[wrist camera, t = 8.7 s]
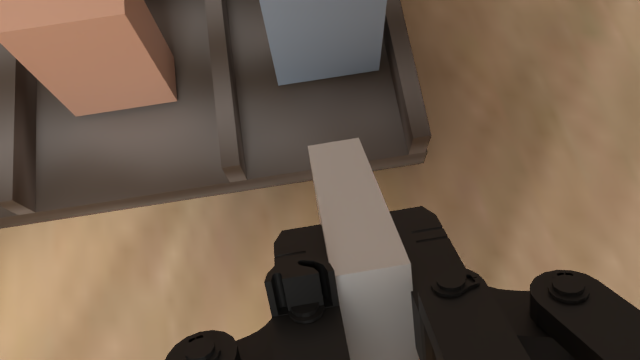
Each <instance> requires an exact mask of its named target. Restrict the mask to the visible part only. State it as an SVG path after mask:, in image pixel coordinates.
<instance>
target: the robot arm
mask: <svg viewBox="0 0 640 360" xmlns="http://www.w3.org/2000/svg"><path fill="white" fill-rule="evenodd" d="M308 151H309V157H310V164H311V170H312V176H313V183H314V189H315V195H316V201H317V208H318V214H319V220H320V225H314V226H308V227H302V228H296V229H290V230H284V231H281V233H280V235H279V236H278V238H277V239H276V241H275V242H274V256H275V258H274V259H275V266H274V267H273V268H272V269H271V270H270V271H269V272H268V274H267V276H266V279H265V287H266V291H267V296H268V301H269V305H270V310H271V314H272V319H271V320H270V321H269V322H268V323H267V324H266V325H265V326H264V327H263V328H261V329H260V330H259V331H257V332H255V333H253V334H251V335H249V336H247V337H245V338H242V339H240V340H237V341H235V340H234V338H233V337H232V336H230V335H229V334H227V333H225V332H222V331H215V330H210V331H203V332H198V333H196V334H193V335H191V336H188V337H186V338H185V339H183V340H182V341H180V342H179V343H178V344H176V345H175V346H174V347H173V349H172V350H171V351H170V352H169V354H168V355H167V357H166V359H165V360H419V359H420V360H640V310H639V309H637V308H636V307H634V306H633V305H632V304H630V303H629V302H627V301H626V300H625V299H623V298H622V297H620V296H619V295H618V294H616V293H615V292H613V291H612V290H611V289H609V288H608V287H606V286H605V285H604V284H602V283H601V282H599V281H598V280H596V279H594V278H592V277H590V276H589V275H587V274H583V273H580V272H576V271H571V270H554V271H549V272H544V273H543V274H541V275H539V276H537V277H535V278H534V280H533V281H532V283H531V284H530V291H513V290H502V289H496V288H492V287H488V286H487V284H486V282H485V281H484V280H483V279H482V278H481V277H480V276H479V275H478V274H477V273H475V272H473V271H471V270H469V269H466V268H465V266H464V264H463V263H462V261H461V259H460V257H459V256H458V254H457V252H456V250H455V248H454V247H453V245H452V243H451V241H450V239H449V238H448V237H447V234H446V232H445V231H444V229H443V228H442V225H441V223H440V222H439V220H438V218H437V216H436V215H435V214H434V213H432V212H430V211H429V210H427V209H426V208H424V207H422V206H420V207H414V208H408V209H402V210H396V211H390V212H389V210H388V207H387V205H386V202H385V200H384V198H383V195H382V193H381V190H380V188H379V186H378V183H377V181H376V178H375V176H374V173H373V171H372V169H371V166H370V164H369V161H368V159H367V156H366V154H365V152H364V149H363V147H362V144H361V142H360V140H359V138H353V139H347V140H341V141H335V142H329V143H323V144H316V145H310V146H308ZM418 356H419V357H418Z"/></svg>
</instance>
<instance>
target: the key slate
mask: <svg viewBox="0 0 640 360" xmlns="http://www.w3.org/2000/svg"><path fill="white" fill-rule="evenodd" d="M259 2H260V6H261V11H262V15H263V19H264V24H265V28H266V33H267V37H268V42H269V46H270V51H271V55H272V60H273V64H274V68H275V73H276V77H277V82H278V86H280V85H286V84H293V83H299V82H306V81H312V80H319V79H326V78H332V77H339V76H345V75H352V74H358V73H365V72H371V71H378V70H379V66H380V57H381V48H382V40H383V31H384V22H385V14H386V5H387V0H259Z"/></svg>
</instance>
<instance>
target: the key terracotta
mask: <svg viewBox="0 0 640 360" xmlns="http://www.w3.org/2000/svg"><path fill="white" fill-rule="evenodd" d="M0 43H1V44H2V45H3V46H4V47H5V48H6V49H7V50H8V51H9V52H10V53H11V54H12V55H13V56H14V57H15V58H16V59H17V60H18V61H19V62H20V63H21V64H22V65H23V66H24V67H25V68H26V69H27V70H28V71H29V72H30V73H32V74H33V75H34V76H35V77H36V78H37V79H38V80H39V81H40V82H41V83H42V84H43V85H44V86H45V87H46V88H47V89H48V90H49V91H50V92H51V93H52V94H53V95H54V96H55V97H56V98H57V99H58V100H59V101H60V102H61V103H62V104H63V105H64V106H65V107H67V108H68V109H69V110H70V111H71V112H72V113H73V114H74V115H75V116H76V117H77V116H83V115H90V114H97V113H103V112H110V111H116V110H123V109H129V108H136V107H142V106H149V105H155V104H162V103H169V102H175V101H177V90H176V77H175V64H174V56H173V54H172V52H171V50H170V49H169V47H168V45H167V43H166V41H165V39H164V37H163V35H162V33H161V32H160V30H159V28H158V26H157V24H156V22H155V20H154V18H153V17H152V15H151V13H150V11H149V9H148V7H147V5H146V3H145V1H144V0H0Z"/></svg>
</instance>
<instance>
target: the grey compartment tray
mask: <svg viewBox="0 0 640 360" xmlns="http://www.w3.org/2000/svg"><path fill="white" fill-rule="evenodd" d="M144 1H145V3H146V5H147V7H148V9H149V11H150V13H151V15H152V17H153V18H154V20H155V22H156V24H157V26H158V28H159V30H160V32H161V33H162V35H163V37H164V39H165V41H166V43H167V45H168V47H169V49H170V50H171V52H172V54H173V56H174V64H175V77H176V90H177V101H175V102H169V103H162V104H155V105H149V106H142V107H136V108H129V109H123V110H116V111H110V112H103V113H97V114H90V115H83V116H77V117H76V116H75V115H74V114H73V113H72V112H71V111H70V110H69V109H68V108H67V107H65V106H64V105H63V104H62V103H61V102H60V101H59V100H58V99H57V98H56V97H55V96H54V95H53V94H52V93H51V92H50V91H49V90H48V89H47V88H46V87H45V86H44V85H43V84H42V83H41V82H40V81H39V80H38V79H37V78H36V77H35V76H34V75H33V74H32V73H30V72H29V71H28V70H27V69H26V68H25V67H24V66H23V65H22V64H21V63H20V62H19V61H18V60H17V59H16V58H15V57H14V56H13V55H12V54H11V53H10V52H9V51H8V50H7V49H6V48H5V47H4V46H3V45H2V44H1V43H0V229H1V228H7V227H13V226H20V225H26V224H33V223H39V222H46V221H52V220H59V219H65V218H72V217H78V216H84V215H91V214H97V213H104V212H110V211H117V210H123V209H130V208H136V207H143V206H149V205H156V204H162V203H168V202H175V201H181V200H188V199H194V198H201V197H207V196H214V195H220V194H227V193H233V192H239V191H246V190H252V189H259V188H265V187H272V186H278V185H285V184H291V183H298V182H304V181H310V180H313V176H312V170H311V164H310V157H309V151H308V146H310V145H316V144H323V143H329V142H335V141H341V140H347V139H353V138H359V140H360V142H361V144H362V147H363V149H364V152H365V154H366V156H367V159H368V161H369V164H370V166H371V169H372V171H375V170H381V169H388V168H394V167H401V166H407V165H414V164H420V163H423V162H424V160H425V157H426V154H427V146H428V143H429V141H430V138H431V132H430V127H429V123H428V119H427V115H426V110H425V106H424V102H423V97H422V93H421V89H420V84H419V80H418V76H417V71H416V67H415V63H414V58H413V54H412V50H411V46H410V41H409V37H408V33H407V28H406V24H405V20H404V15H403V11H402V7H401V2H400V0H387V5H386V14H385V22H384V31H383V40H382V48H381V57H380V66H379V70H378V71H371V72H365V73H358V74H352V75H345V76H339V77H332V78H326V79H319V80H312V81H306V82H299V83H293V84H286V85H280V86H278V82H277V77H276V73H275V68H274V64H273V60H272V55H271V51H270V46H269V42H268V37H267V33H266V28H265V24H264V19H263V15H262V11H261V6H260V2H259V0H144Z"/></svg>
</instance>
